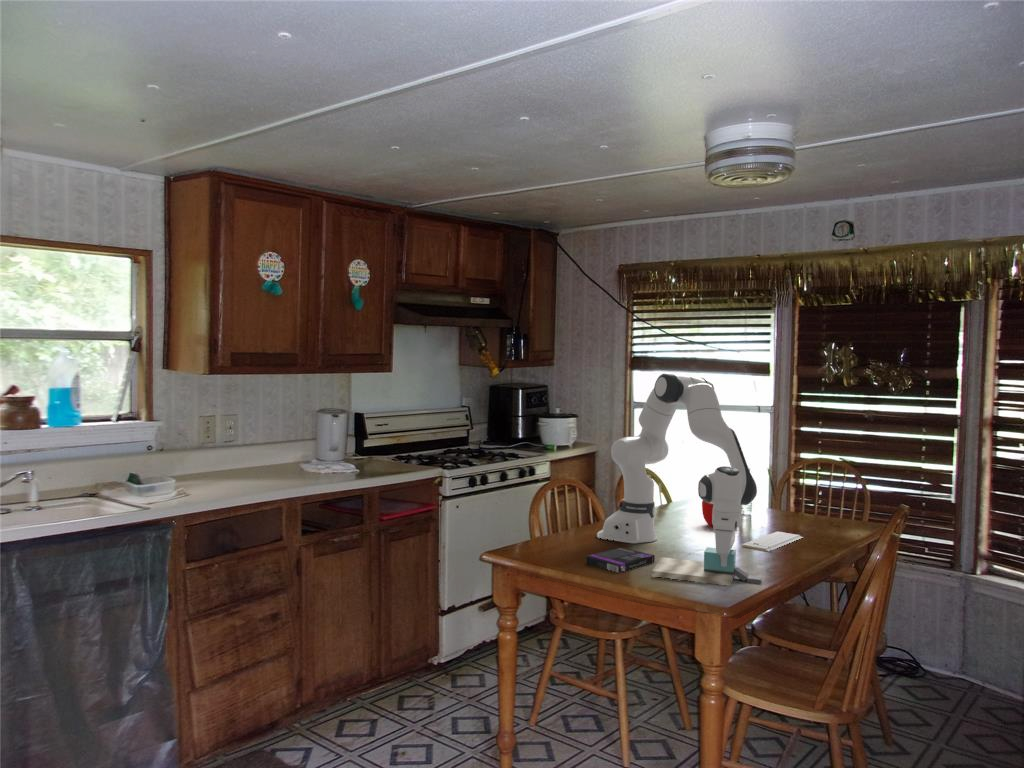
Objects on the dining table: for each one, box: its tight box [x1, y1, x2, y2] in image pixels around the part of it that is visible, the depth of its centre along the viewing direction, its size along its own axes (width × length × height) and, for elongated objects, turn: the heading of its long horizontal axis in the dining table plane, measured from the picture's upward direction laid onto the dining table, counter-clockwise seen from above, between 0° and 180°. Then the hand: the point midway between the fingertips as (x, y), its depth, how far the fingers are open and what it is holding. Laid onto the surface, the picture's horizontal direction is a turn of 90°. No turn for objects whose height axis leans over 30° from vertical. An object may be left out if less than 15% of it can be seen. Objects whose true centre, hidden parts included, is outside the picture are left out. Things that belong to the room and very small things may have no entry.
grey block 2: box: [746, 574, 762, 585], centre depth 247 cm, size 4×4×2 cm
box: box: [585, 546, 656, 573], centre depth 265 cm, size 14×4×20 cm
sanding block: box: [703, 546, 737, 574], centre depth 250 cm, size 9×6×6 cm
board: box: [651, 557, 737, 587], centre depth 253 cm, size 24×18×2 cm
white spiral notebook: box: [741, 531, 805, 553], centre depth 299 cm, size 31×3×12 cm
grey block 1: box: [734, 566, 749, 582], centre depth 248 cm, size 4×4×2 cm
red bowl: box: [701, 500, 714, 528], centre depth 327 cm, size 13×17×10 cm
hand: (725, 563), depth 250 cm, fingers closed on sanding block, 6 cm apart
